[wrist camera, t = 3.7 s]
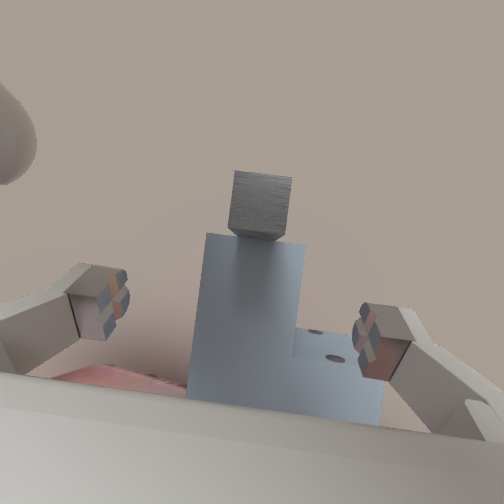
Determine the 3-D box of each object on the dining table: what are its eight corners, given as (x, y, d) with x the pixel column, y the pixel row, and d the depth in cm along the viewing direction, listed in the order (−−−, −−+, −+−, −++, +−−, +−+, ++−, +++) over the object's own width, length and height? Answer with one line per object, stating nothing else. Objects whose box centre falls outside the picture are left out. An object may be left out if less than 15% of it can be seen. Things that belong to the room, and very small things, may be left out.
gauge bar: (218, 226, 15) (227, 150, 15) (239, 241, 35) (243, 209, 35) (294, 236, 15) (303, 159, 15) (272, 245, 35) (276, 213, 35)
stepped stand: (165, 555, 23) (206, 232, 23) (193, 463, 33) (221, 238, 33) (359, 583, 23) (399, 257, 23) (327, 482, 33) (356, 255, 33)
